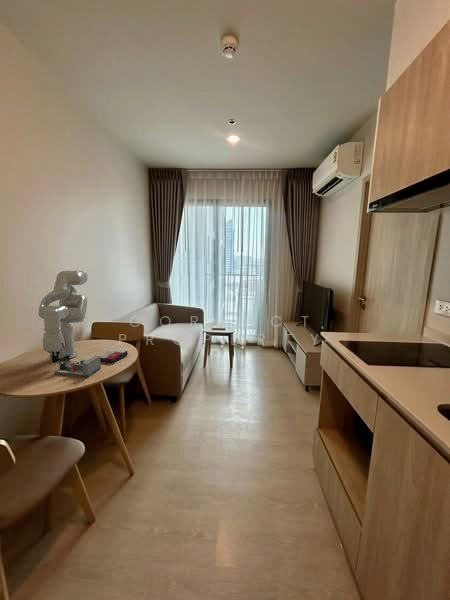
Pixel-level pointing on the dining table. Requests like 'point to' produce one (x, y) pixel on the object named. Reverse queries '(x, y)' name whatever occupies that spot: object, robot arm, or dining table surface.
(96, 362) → the gauge housing
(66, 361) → the plunger
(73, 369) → the drag pointer
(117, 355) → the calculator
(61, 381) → the dining table surface
